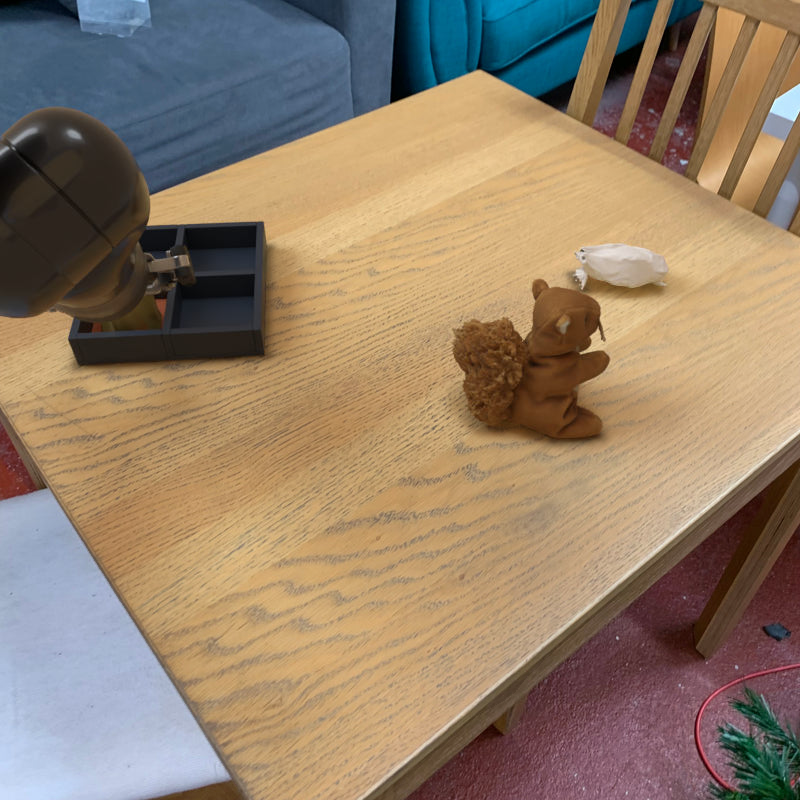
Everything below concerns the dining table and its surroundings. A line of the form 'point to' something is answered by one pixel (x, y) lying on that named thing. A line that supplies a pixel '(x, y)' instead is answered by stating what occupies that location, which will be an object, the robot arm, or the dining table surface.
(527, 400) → the stuffed squirrel
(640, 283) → the bird figurine
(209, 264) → the grid
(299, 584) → the dining table surface
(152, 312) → the vase
